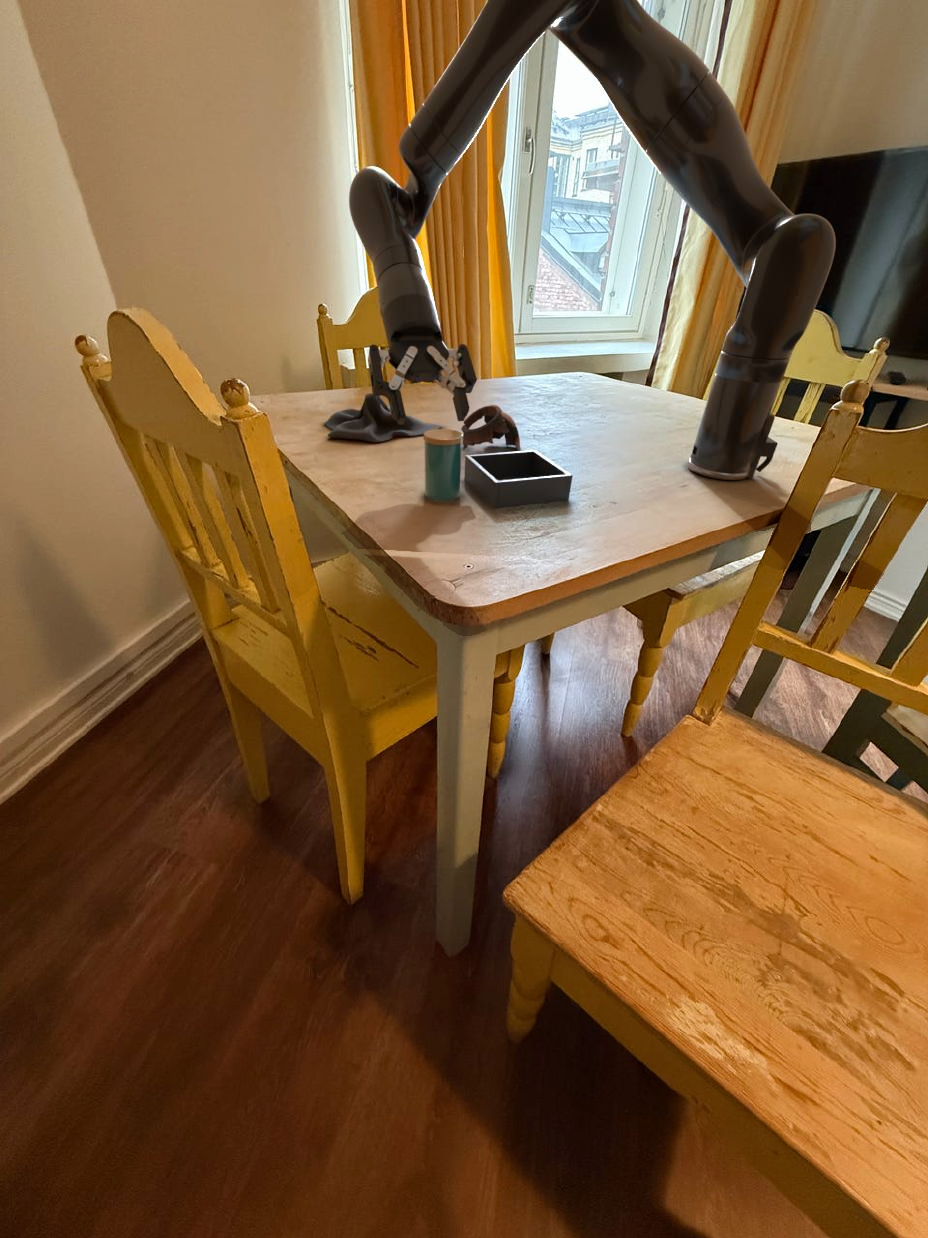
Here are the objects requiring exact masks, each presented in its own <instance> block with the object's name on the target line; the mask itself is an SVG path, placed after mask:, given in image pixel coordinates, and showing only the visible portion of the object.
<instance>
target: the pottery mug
mask: <svg viewBox="0 0 928 1238" xmlns="http://www.w3.org/2000/svg"><path fill="white" fill-rule="evenodd" d="M481 419H483V421H484V424H483V425H481V426H479V427H476V428H472V429H471V427H472V426H473V425H474V424H475V423H477V422H478V421H480V420H481ZM460 430H461V431H462V435H463V438H462V445H463V447H464V448H467V447H468V446H471V447H474V446H476V445H482V444H484V443H489V444H491V445H494V439H496V440H500V439H502V438H504V439H505V446H514V447H515V452H517V451H522V450H521V449H522V448H521V438H520V434H519V430H518V427H517V424H516V423H515V421H514V419H513V418H512V417H511V415H509V414H508V413H507V412H504V411H503V410H502V408H501V407H500V406H498V405H497V404H489V405H484V406H482V407H480V408H478V409H476V410H474V411H473V412H471V413H470V414H469V415H467V416H466V417H465V419H464V421H463V425H462V426H461V428H460Z"/></svg>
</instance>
